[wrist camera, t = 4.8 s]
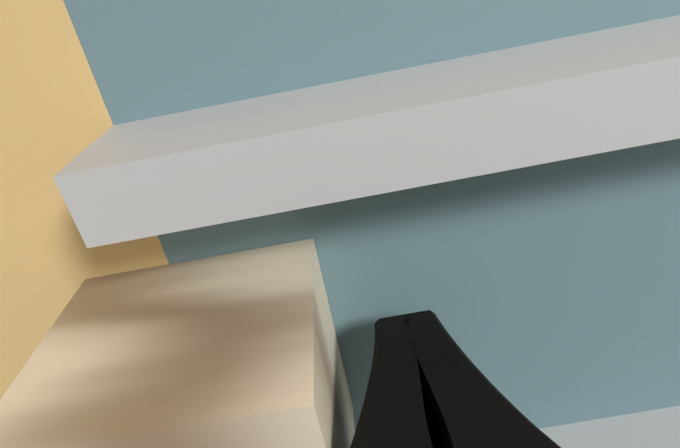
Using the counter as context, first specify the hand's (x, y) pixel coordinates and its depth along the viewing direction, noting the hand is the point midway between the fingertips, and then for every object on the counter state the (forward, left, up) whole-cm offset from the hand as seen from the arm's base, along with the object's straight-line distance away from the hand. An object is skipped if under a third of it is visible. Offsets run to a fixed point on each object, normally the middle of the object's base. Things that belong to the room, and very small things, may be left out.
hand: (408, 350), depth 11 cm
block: (-4, 0, -1) cm, 4 cm away
